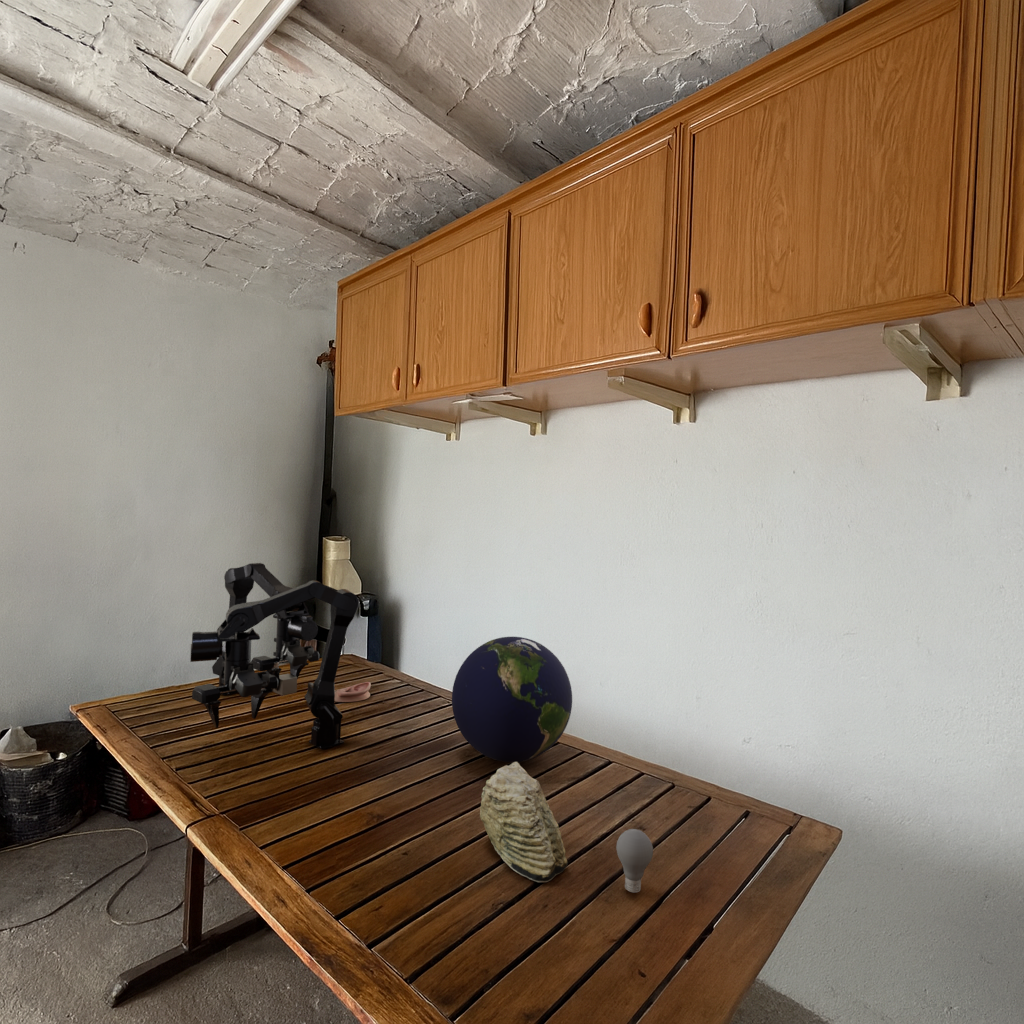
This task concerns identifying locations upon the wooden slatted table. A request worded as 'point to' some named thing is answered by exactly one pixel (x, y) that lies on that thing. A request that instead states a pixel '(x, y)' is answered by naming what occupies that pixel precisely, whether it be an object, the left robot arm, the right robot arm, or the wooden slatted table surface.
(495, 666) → the globe
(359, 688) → the anatomical model
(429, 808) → the wooden slatted table surface
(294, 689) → the block
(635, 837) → the light bulb
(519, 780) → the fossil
